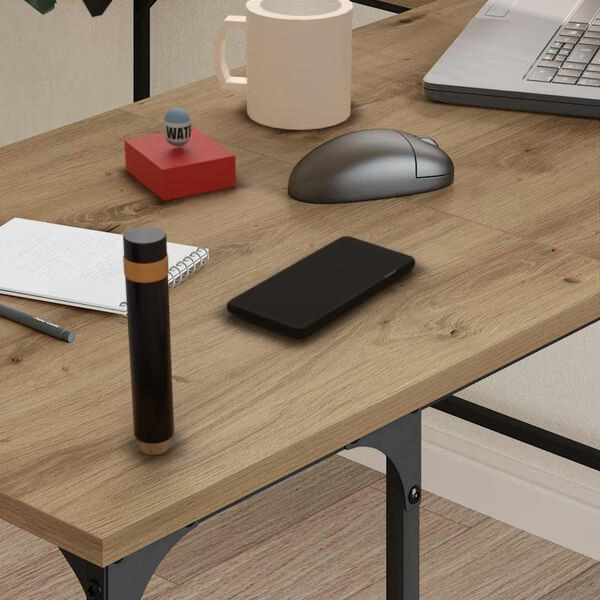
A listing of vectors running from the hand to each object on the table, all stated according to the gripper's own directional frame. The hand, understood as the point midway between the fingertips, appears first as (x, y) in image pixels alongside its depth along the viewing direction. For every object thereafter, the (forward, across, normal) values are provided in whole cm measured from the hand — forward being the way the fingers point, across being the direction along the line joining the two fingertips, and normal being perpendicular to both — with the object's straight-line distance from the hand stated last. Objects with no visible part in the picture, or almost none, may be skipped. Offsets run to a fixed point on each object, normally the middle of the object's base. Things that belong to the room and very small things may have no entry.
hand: (13, 26), depth 81 cm
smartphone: (+19, -23, -14) cm, 33 cm away
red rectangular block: (+2, -30, -31) cm, 43 cm away
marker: (+24, 0, -9) cm, 26 cm away
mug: (-2, -49, -36) cm, 61 cm away
